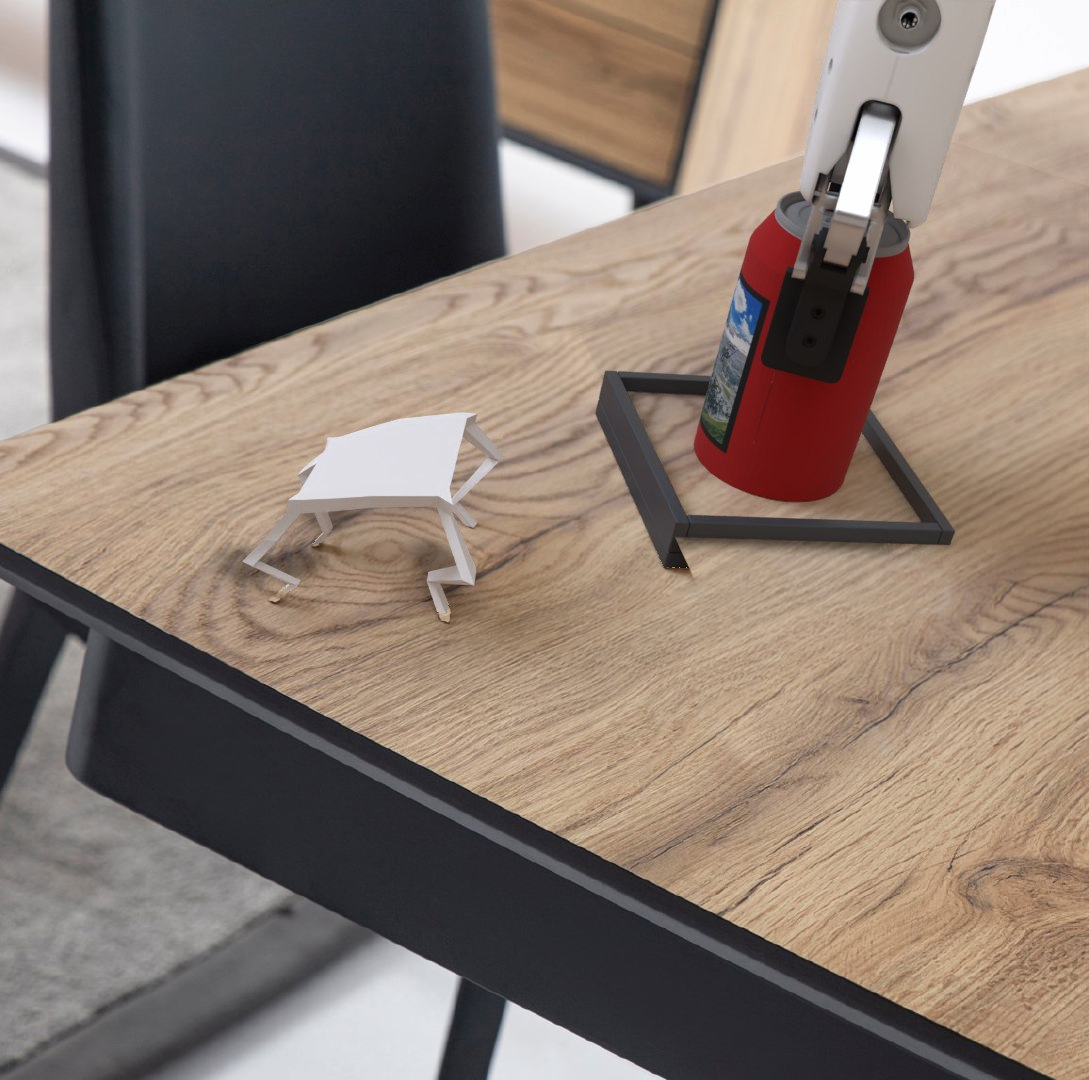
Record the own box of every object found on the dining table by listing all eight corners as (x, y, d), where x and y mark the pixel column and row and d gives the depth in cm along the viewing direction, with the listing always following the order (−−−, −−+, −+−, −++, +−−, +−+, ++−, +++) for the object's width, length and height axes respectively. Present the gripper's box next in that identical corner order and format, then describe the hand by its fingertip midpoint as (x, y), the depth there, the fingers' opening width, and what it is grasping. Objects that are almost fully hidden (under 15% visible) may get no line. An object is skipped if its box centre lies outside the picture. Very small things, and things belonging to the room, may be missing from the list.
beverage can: (724, 418, 75) (795, 168, 68) (860, 473, 73) (950, 222, 66) (663, 475, 70) (733, 213, 63) (807, 537, 68) (897, 272, 61)
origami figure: (431, 680, 58) (452, 568, 55) (227, 598, 60) (236, 486, 57) (551, 526, 67) (573, 423, 64) (370, 460, 69) (384, 356, 66)
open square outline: (838, 425, 78) (852, 382, 77) (938, 576, 69) (956, 530, 67) (594, 413, 75) (604, 369, 74) (663, 568, 66) (676, 521, 65)
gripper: (1066, -47, 49) (886, 451, 60) (1053, -150, 63) (908, 271, 74) (822, -101, 50) (688, 399, 61) (861, -191, 64) (746, 231, 75)
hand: (809, 326), depth 67 cm, fingers open, 7 cm apart
